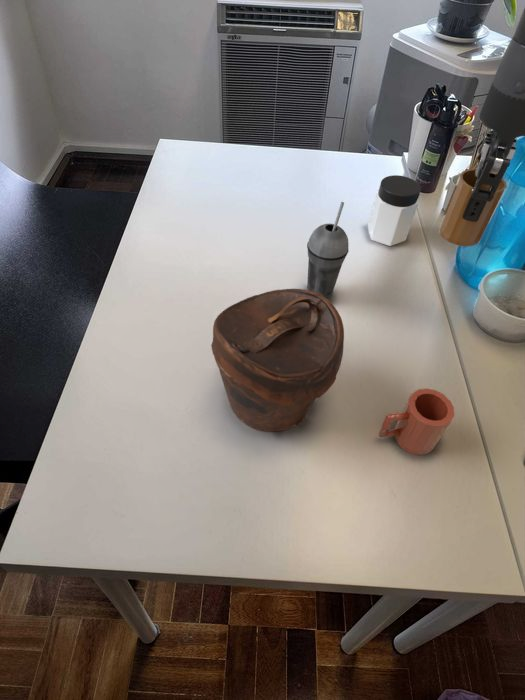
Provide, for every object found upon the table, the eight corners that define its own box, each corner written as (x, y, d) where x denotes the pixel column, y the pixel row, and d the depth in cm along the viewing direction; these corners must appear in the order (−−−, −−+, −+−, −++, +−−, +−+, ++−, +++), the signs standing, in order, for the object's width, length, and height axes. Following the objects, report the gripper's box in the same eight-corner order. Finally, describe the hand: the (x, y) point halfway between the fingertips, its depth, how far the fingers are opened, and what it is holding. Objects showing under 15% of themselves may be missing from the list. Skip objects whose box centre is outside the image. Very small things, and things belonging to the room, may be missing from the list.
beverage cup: (293, 288, 91) (305, 195, 76) (326, 280, 93) (345, 188, 78) (309, 313, 87) (326, 220, 72) (344, 304, 89) (367, 212, 74)
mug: (425, 416, 73) (443, 386, 67) (441, 452, 69) (462, 423, 63) (368, 423, 72) (381, 393, 66) (382, 460, 68) (396, 431, 62)
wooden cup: (469, 221, 75) (493, 168, 69) (487, 245, 71) (515, 191, 64) (432, 222, 74) (452, 169, 68) (448, 247, 70) (471, 193, 64)
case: (335, 359, 80) (356, 279, 66) (320, 464, 67) (343, 390, 53) (233, 340, 82) (233, 257, 68) (199, 439, 69) (192, 361, 55)
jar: (408, 247, 102) (426, 197, 93) (371, 246, 101) (385, 196, 92) (399, 223, 108) (415, 174, 99) (364, 222, 107) (377, 173, 98)
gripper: (559, 114, 51) (494, 240, 64) (556, 72, 60) (500, 190, 73) (489, 100, 53) (439, 226, 66) (496, 61, 62) (451, 178, 75)
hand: (471, 206), depth 69 cm, fingers closed on wooden cup, 6 cm apart
